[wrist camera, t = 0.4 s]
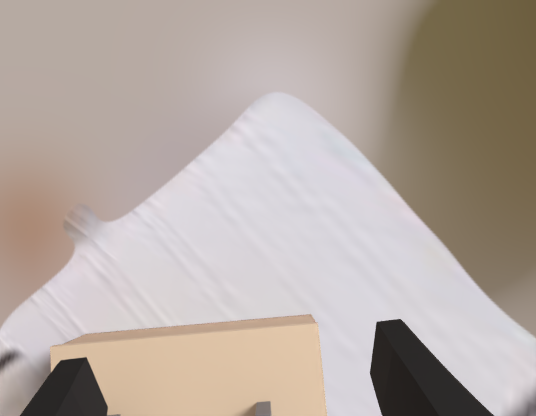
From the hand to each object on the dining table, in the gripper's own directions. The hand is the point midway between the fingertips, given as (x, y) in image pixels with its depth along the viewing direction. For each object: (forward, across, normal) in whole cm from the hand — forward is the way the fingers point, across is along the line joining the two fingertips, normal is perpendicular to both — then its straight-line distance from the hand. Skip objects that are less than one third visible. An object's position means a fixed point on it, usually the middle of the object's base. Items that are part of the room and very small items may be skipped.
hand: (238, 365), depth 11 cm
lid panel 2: (+10, 0, +22) cm, 24 cm away
